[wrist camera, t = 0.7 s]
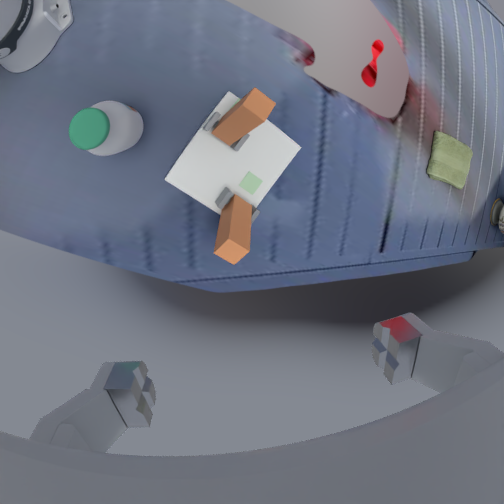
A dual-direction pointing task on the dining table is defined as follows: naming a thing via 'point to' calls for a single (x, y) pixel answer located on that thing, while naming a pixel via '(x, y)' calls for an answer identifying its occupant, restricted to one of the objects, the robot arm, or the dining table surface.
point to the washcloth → (449, 160)
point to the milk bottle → (106, 128)
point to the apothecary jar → (498, 214)
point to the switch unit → (232, 162)
